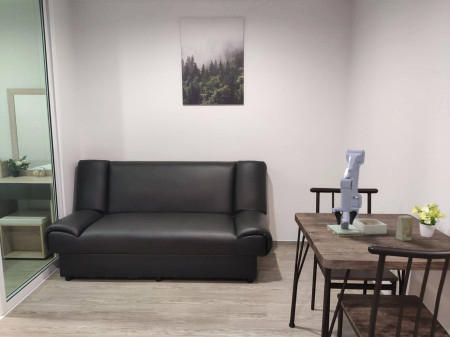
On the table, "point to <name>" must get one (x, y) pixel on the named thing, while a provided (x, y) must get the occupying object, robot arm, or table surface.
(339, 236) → the birch board
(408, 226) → the skincare box
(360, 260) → the table surface
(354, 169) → the robot arm
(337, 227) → the lid
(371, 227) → the storage box
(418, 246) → the table surface
